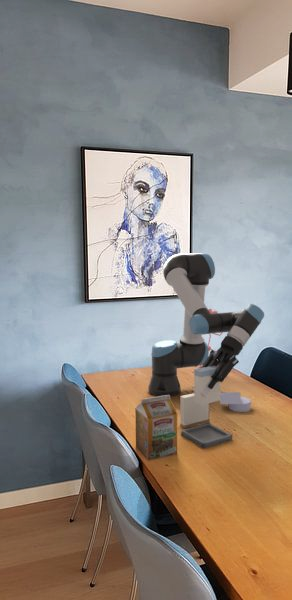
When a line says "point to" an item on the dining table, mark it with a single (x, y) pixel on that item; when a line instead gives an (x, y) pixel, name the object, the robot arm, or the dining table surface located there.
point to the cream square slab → (193, 412)
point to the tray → (206, 435)
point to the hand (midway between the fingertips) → (198, 393)
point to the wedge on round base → (235, 401)
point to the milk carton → (156, 427)
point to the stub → (200, 380)
